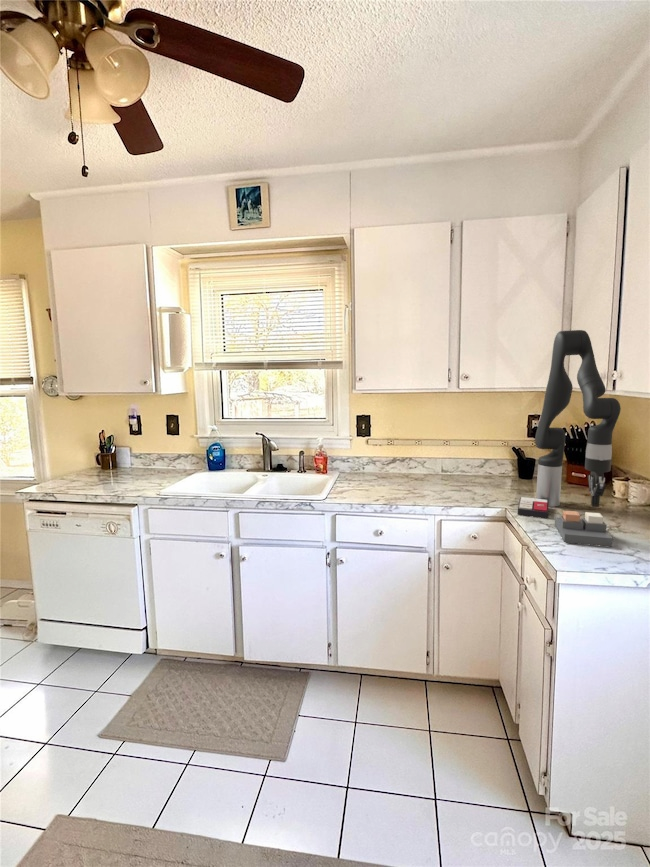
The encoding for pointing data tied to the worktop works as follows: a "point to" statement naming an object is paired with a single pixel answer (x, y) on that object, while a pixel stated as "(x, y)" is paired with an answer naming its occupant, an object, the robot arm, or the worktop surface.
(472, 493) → the worktop surface
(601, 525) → the push button base
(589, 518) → the cream key
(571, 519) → the peach key
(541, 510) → the calculator
